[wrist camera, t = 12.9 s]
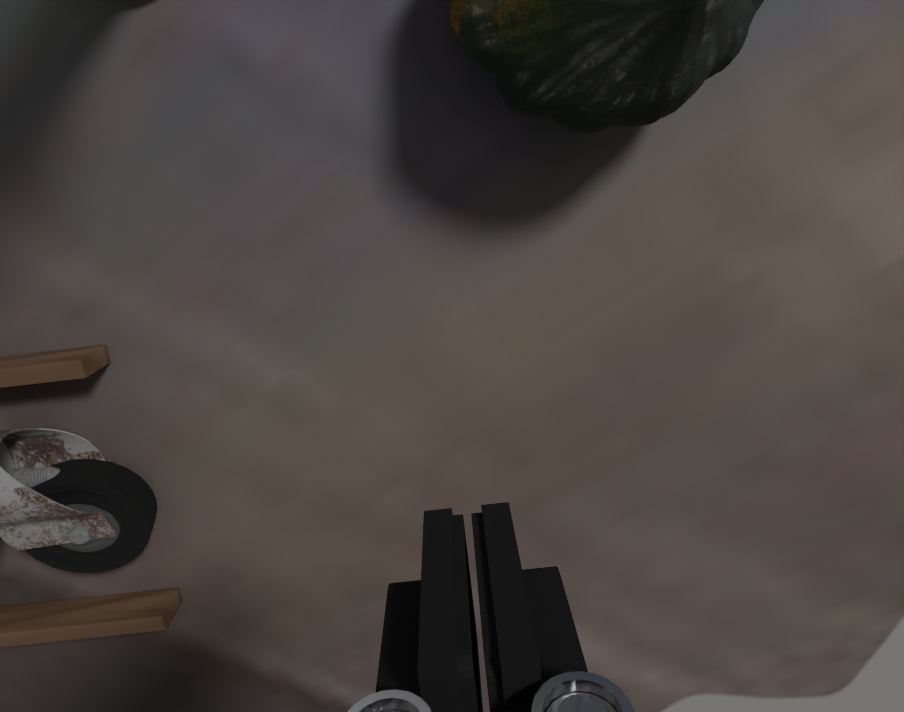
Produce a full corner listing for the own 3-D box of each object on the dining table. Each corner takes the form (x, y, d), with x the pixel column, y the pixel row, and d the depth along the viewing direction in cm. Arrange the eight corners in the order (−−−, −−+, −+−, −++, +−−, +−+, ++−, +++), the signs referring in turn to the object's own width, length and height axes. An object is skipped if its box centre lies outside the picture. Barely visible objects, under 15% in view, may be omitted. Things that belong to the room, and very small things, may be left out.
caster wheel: (176, 517, 48) (35, 536, 46) (135, 395, 42) (-27, 413, 41) (156, 587, 42) (-5, 612, 41) (105, 457, 36) (-84, 481, 35)
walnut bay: (-152, 374, 41) (-196, 390, 38) (105, 344, 41) (80, 359, 38) (-41, 624, 47) (-72, 654, 45) (182, 601, 47) (165, 630, 44)
